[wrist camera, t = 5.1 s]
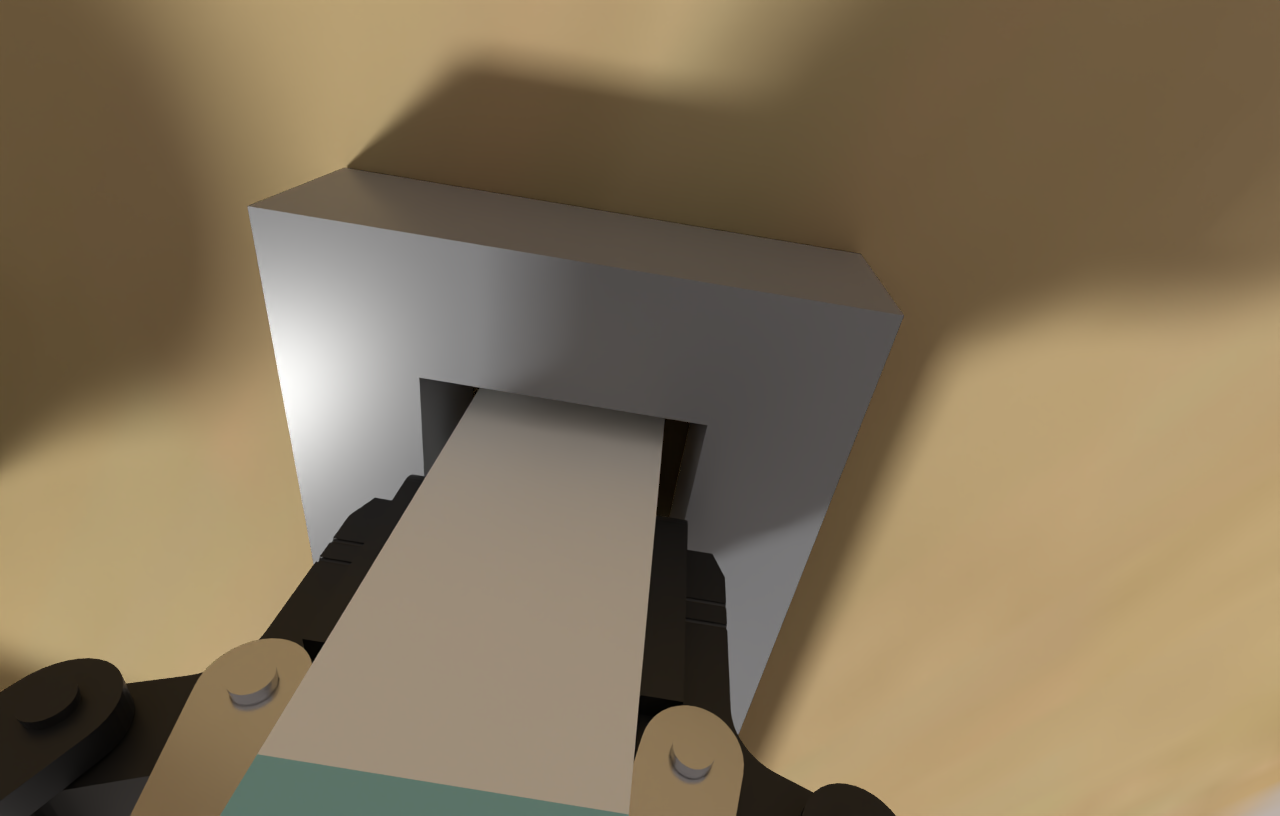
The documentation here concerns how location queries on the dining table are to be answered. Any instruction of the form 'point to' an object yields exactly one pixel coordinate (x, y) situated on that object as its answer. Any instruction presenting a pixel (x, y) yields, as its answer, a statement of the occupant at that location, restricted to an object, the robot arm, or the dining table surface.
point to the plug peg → (487, 633)
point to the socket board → (574, 357)
